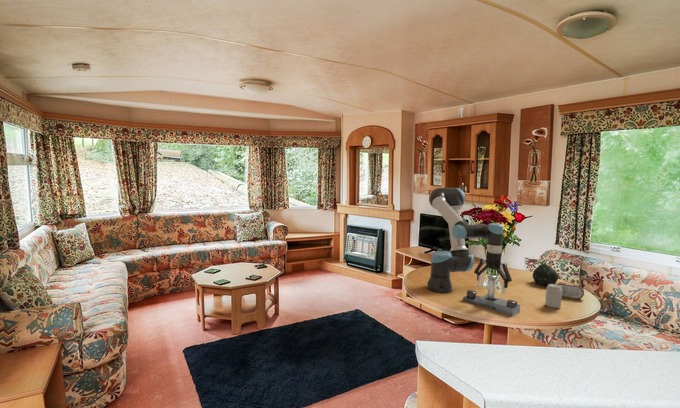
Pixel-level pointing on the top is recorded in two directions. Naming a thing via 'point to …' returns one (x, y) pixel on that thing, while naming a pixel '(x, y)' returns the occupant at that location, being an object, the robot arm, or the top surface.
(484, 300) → the plate with dome knobs
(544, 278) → the squash
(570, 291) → the tin
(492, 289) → the steel pin
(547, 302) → the can
